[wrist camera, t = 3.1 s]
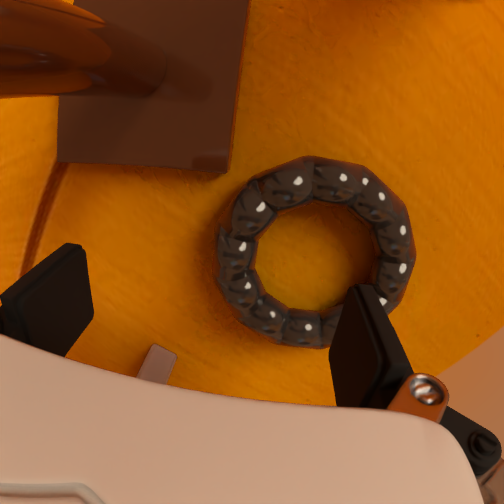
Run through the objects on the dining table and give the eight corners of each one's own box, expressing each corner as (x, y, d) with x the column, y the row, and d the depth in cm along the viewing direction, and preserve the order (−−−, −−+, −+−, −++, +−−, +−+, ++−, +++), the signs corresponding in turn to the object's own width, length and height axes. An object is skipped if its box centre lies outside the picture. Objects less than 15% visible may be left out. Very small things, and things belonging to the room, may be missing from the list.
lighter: (153, 342, 19) (104, 444, 12) (177, 355, 19) (137, 461, 12) (126, 397, 22) (89, 479, 14) (146, 407, 22) (113, 491, 14)
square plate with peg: (253, -12, 11) (204, -184, 1) (230, 170, 14) (120, 299, 4) (83, 2, 11) (-78, -44, 1) (67, 159, 15) (-107, 233, 5)
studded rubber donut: (425, 178, 14) (444, 187, 12) (375, 339, 17) (383, 361, 16) (226, 142, 14) (218, 145, 12) (211, 319, 18) (204, 342, 16)
